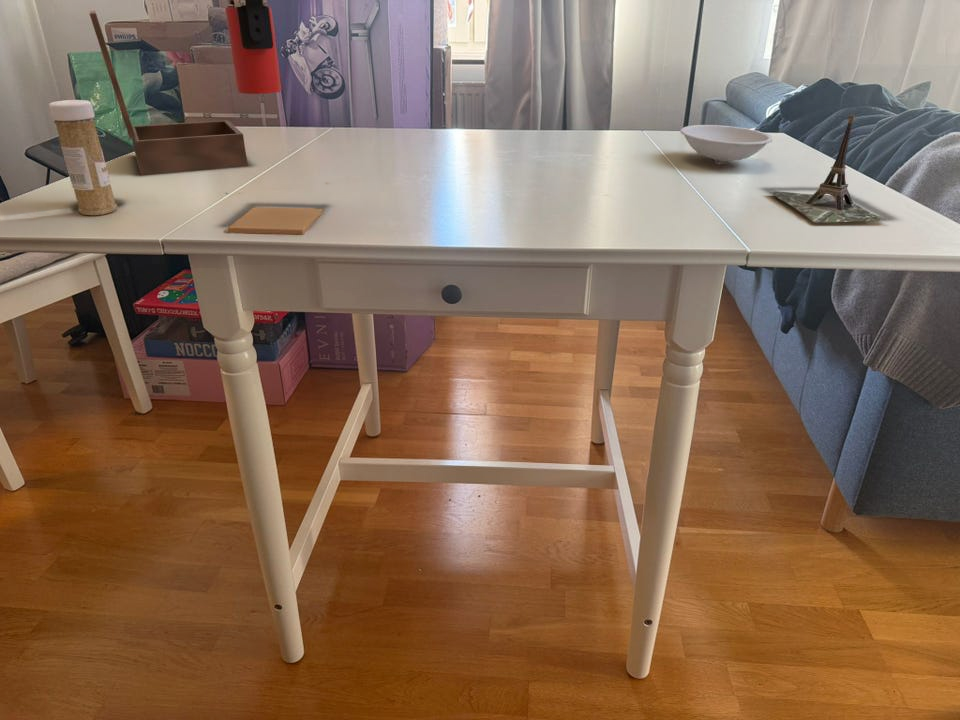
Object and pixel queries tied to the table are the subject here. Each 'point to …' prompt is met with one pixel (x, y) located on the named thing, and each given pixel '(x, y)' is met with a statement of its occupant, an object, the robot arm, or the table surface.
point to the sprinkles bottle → (83, 156)
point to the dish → (725, 141)
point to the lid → (112, 73)
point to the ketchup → (252, 60)
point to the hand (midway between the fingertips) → (253, 45)
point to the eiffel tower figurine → (830, 194)
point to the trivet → (276, 220)
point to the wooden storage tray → (188, 147)
